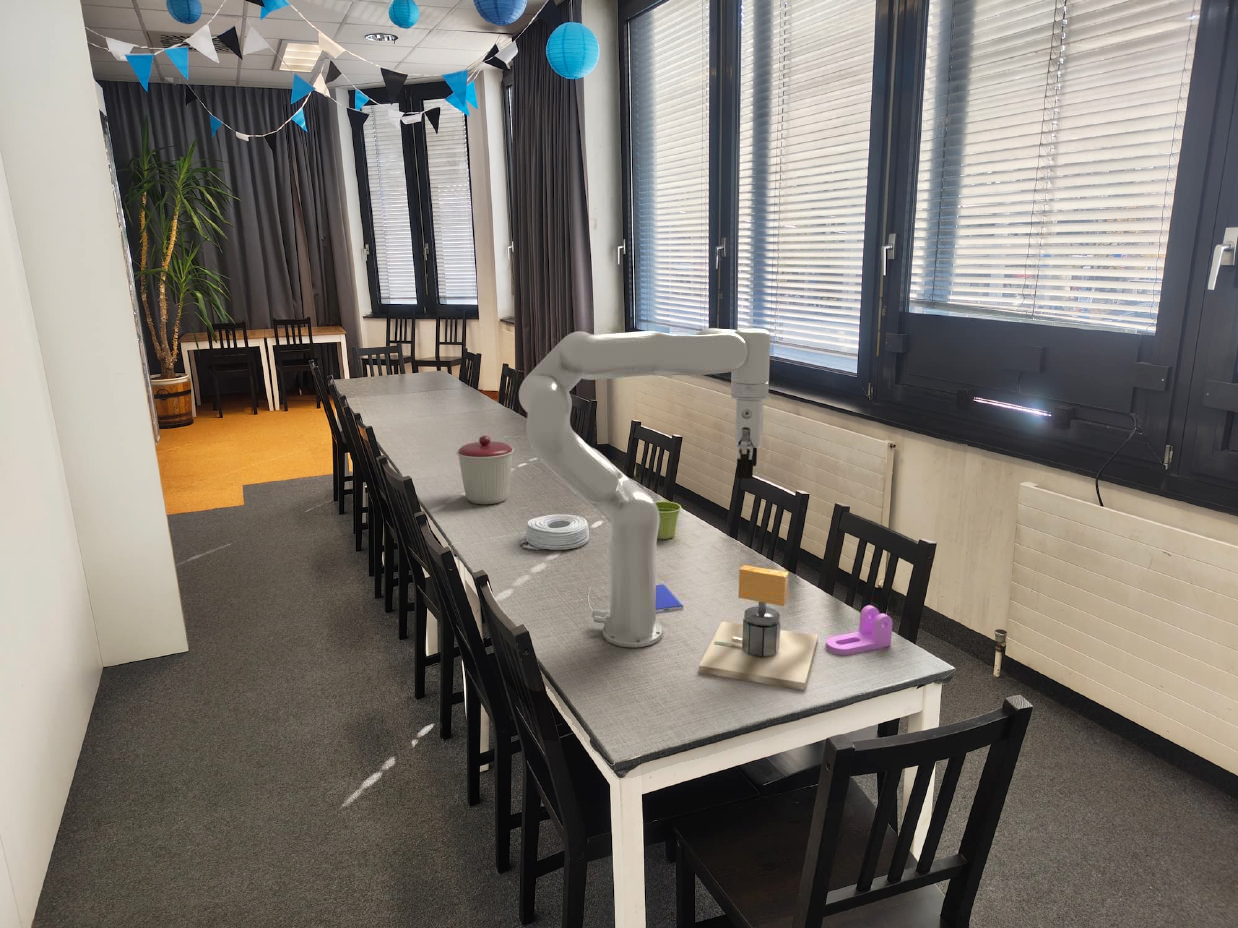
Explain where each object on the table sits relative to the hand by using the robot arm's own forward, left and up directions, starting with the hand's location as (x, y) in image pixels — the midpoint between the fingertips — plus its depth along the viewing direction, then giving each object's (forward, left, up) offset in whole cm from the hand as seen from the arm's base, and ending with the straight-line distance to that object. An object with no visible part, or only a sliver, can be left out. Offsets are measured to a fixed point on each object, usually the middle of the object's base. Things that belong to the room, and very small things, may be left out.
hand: (746, 471), depth 173 cm
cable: (-58, +32, -34) cm, 74 cm away
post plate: (+7, -16, -33) cm, 38 cm away
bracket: (+24, -5, -34) cm, 42 cm away
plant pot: (-31, +45, -34) cm, 64 cm away
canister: (-94, +59, -34) cm, 116 cm away
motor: (+6, -16, -31) cm, 36 cm away
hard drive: (-20, +3, -34) cm, 40 cm away
